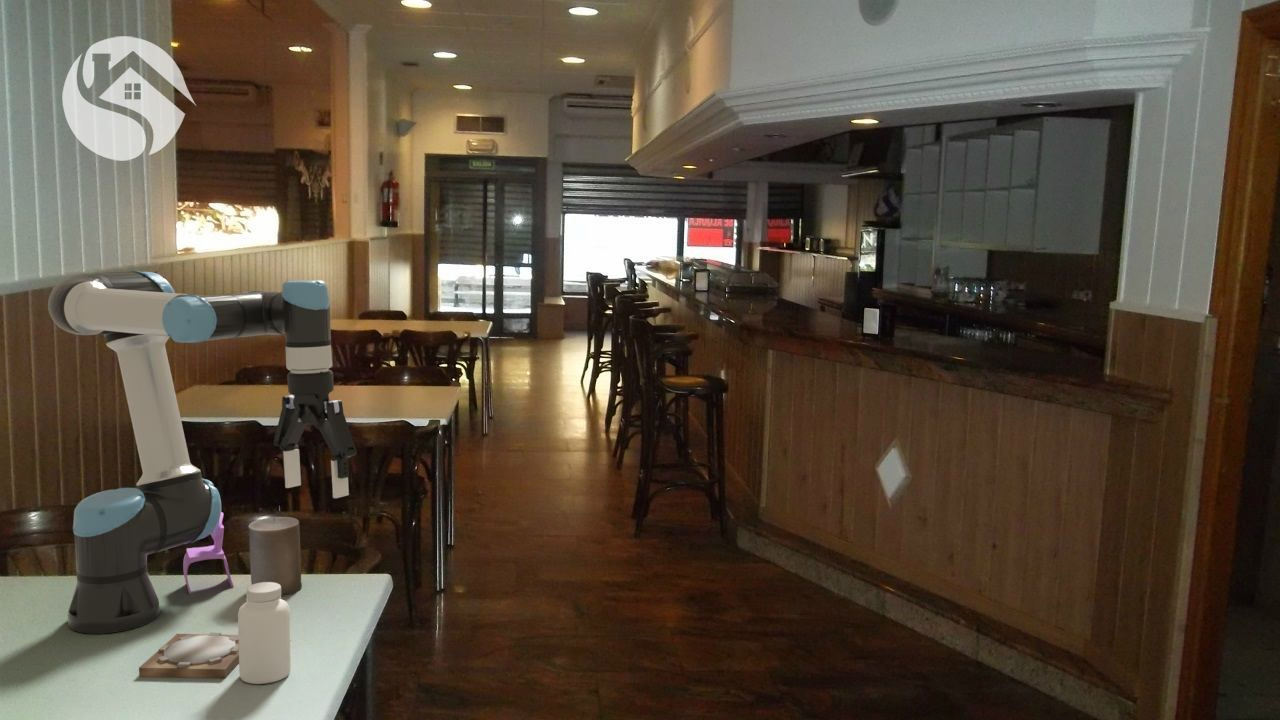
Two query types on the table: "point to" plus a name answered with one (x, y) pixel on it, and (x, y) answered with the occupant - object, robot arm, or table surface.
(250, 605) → the pill bottle
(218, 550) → the toy chair
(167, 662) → the gear board
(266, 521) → the pillar candle
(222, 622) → the table surface
